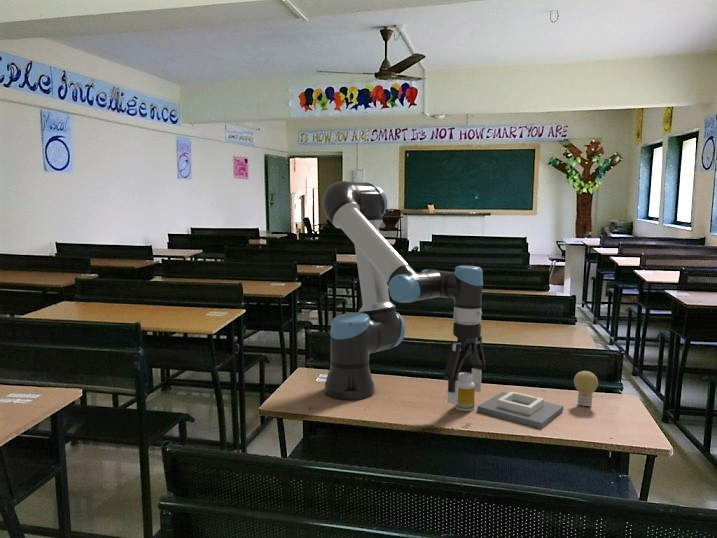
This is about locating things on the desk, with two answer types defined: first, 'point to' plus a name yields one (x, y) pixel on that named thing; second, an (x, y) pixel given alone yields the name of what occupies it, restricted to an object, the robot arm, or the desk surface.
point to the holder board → (521, 409)
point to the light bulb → (585, 387)
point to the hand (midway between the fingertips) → (464, 397)
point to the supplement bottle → (465, 392)
